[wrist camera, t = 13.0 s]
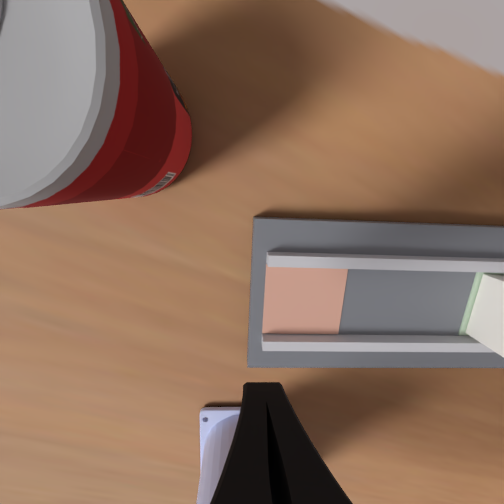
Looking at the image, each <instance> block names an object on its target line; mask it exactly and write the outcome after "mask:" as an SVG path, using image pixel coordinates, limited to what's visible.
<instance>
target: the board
mask: <svg viewBox="0 0 504 504" xmlns="http://www.w3.org/2000/svg"><path fill="white" fill-rule="evenodd" d="M483 274H497V275H504V226H492V225H465V224H438V223H411V222H385V221H358V220H331V219H305V218H278V217H253V237H252V260H251V283H250V306H249V329H248V351H247V364H248V367H261V368H504V357H502V356H501V355H499V354H497V353H496V352H494V351H493V350H491V349H490V348H488V347H487V346H485V345H483V344H482V343H480V342H479V341H477V340H476V339H474V338H473V337H471V336H469V335H468V334H466V333H465V332H466V329H467V326H468V322H469V319H470V316H471V312H472V309H473V306H474V303H475V299H476V296H477V293H478V289H479V286H480V283H481V279H482V276H483Z"/></svg>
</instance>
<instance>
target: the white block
mask: <svg viewBox="0 0 504 504" xmlns="http://www.w3.org/2000/svg"><path fill="white" fill-rule="evenodd" d="M465 333H466V334H468V335H469V336H471V337H473V338H474V339H476V340H477V341H479V342H480V343H482V344H483V345H485V346H487V347H488V348H490V349H491V350H493V351H494V352H496V353H497V354H499V355H501V356H502V357H504V275H497V274H483V276H482V279H481V283H480V286H479V289H478V293H477V296H476V299H475V303H474V306H473V309H472V312H471V316H470V319H469V322H468V326H467V329H466V332H465Z"/></svg>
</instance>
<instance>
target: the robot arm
mask: <svg viewBox="0 0 504 504" xmlns="http://www.w3.org/2000/svg"><path fill="white" fill-rule="evenodd" d="M205 417H206V418H205ZM200 461H201V474H200V481H199V488H198V496H197V503H196V504H352V502H351V501H350V499H349V498H348V497H347V495H346V494H345V492H344V491H343V490H342V488H341V487H340V485H339V484H338V482H337V481H336V479H335V478H334V476H333V475H332V473H331V472H330V470H329V469H328V467H327V466H326V464H325V463H324V461H323V460H322V458H321V457H320V455H319V453H318V452H317V450H316V448H315V447H314V445H313V444H312V442H311V440H310V438H309V437H308V435H307V433H306V432H305V430H304V428H303V426H302V425H301V423H300V421H299V419H298V417H297V416H296V414H295V412H294V410H293V408H292V406H291V404H290V402H289V400H288V398H287V396H286V394H285V391H284V389H283V387H282V385H281V384H280V383H279V382H247V383H245V384H244V385H243V398H242V404H241V407H204V408H202V409H201V411H200Z"/></svg>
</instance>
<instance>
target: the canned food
mask: <svg viewBox="0 0 504 504" xmlns="http://www.w3.org/2000/svg"><path fill="white" fill-rule="evenodd" d="M191 140H192V129H191V120H190V116H189V113H188V110H187V106H186V104H185V102H184V100H183V98H182V96H181V94H180V93H179V91H178V89H177V88H176V86H175V84H174V83H173V81H172V80H171V78H170V76H169V75H168V73H167V71H166V70H165V68H164V67H163V65H162V63H161V62H160V60H159V59H158V57H157V55H156V54H155V52H154V50H153V49H152V47H151V46H150V44H149V42H148V41H147V39H146V38H145V36H144V34H143V33H142V31H141V29H140V28H139V26H138V25H137V23H136V21H135V20H134V18H133V17H132V15H131V13H130V12H129V10H128V8H127V7H126V5H125V4H124V2H123V0H0V209H9V208H29V207H39V206H50V205H60V204H70V203H81V202H91V201H102V200H112V199H122V198H133V197H142V196H148V195H151V194H154V193H157V192H159V191H161V190H162V189H164V188H166V187H167V186H169V185H170V184H171V183H172V182H173V181H174V180H175V179H176V178H177V177H178V175H179V174H180V173H181V171H182V170H183V168H184V166H185V164H186V162H187V159H188V156H189V152H190V149H191Z"/></svg>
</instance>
